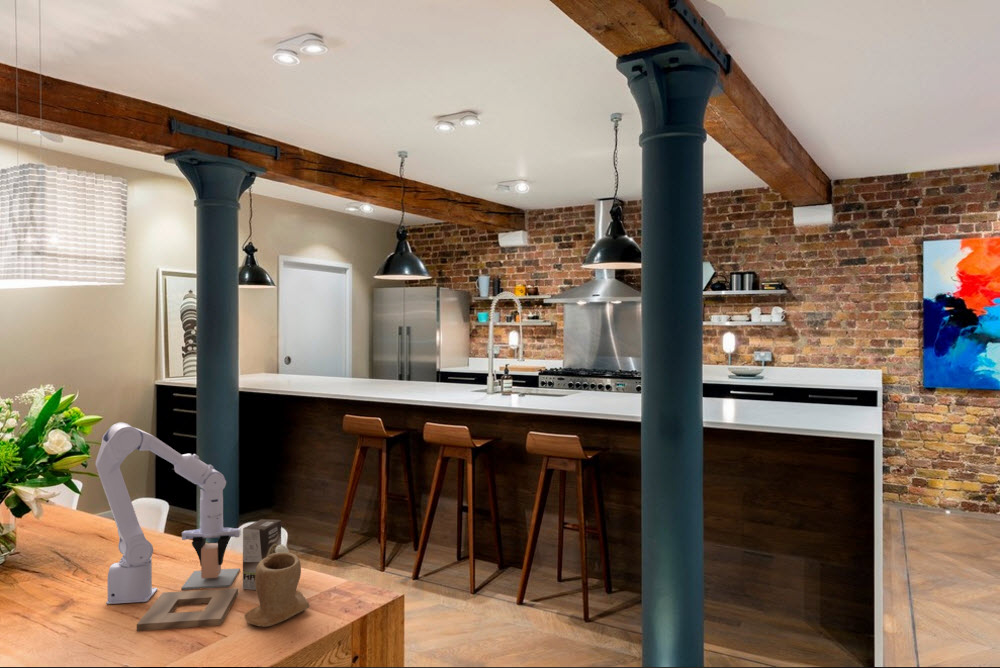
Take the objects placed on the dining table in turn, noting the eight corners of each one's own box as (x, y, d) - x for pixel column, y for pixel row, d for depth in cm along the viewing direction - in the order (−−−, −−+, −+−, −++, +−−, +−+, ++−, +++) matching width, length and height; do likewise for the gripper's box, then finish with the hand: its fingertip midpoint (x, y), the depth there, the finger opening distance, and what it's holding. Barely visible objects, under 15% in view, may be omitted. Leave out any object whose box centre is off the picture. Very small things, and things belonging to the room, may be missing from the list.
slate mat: (181, 589, 174) (181, 587, 174) (194, 572, 186) (194, 570, 186) (230, 587, 176) (230, 584, 176) (239, 570, 188) (239, 568, 188)
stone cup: (269, 636, 148) (269, 569, 148) (237, 622, 155) (237, 558, 155) (323, 612, 161) (323, 550, 160) (291, 600, 167) (291, 541, 167)
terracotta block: (201, 578, 178) (201, 548, 177) (205, 572, 182) (205, 543, 181) (217, 577, 178) (217, 548, 178) (220, 571, 182) (220, 542, 182)
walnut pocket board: (136, 630, 151) (136, 624, 151) (162, 598, 168) (162, 592, 168) (220, 625, 154) (220, 618, 154) (237, 593, 171) (237, 588, 171)
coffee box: (264, 591, 173) (264, 529, 173) (241, 589, 174) (241, 527, 174) (282, 578, 182) (282, 519, 182) (260, 576, 183) (260, 518, 183)
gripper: (178, 519, 175) (178, 571, 175) (236, 517, 178) (236, 568, 178) (186, 512, 182) (186, 561, 182) (242, 510, 185) (242, 558, 185)
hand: (211, 564), depth 181 cm, fingers closed on terracotta block, 4 cm apart
